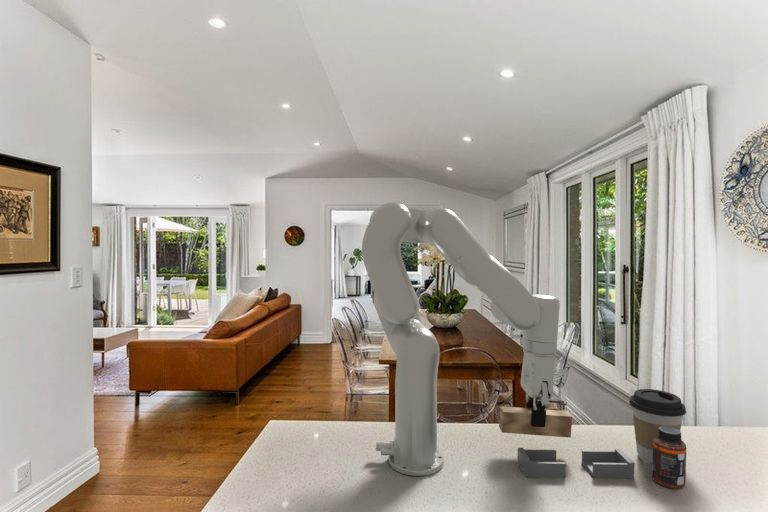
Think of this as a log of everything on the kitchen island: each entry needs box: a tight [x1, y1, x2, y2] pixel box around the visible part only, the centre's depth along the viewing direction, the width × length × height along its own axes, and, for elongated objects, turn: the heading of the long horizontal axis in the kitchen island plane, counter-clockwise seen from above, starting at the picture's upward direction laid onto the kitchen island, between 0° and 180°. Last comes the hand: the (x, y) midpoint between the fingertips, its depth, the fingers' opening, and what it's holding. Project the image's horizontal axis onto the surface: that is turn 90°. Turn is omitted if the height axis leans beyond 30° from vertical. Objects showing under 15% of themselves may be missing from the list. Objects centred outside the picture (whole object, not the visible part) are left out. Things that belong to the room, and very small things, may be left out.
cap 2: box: [581, 448, 636, 479], centre depth 98 cm, size 9×6×3 cm
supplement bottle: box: [651, 426, 687, 490], centre depth 93 cm, size 6×6×11 cm
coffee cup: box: [628, 388, 687, 465], centre depth 103 cm, size 11×11×15 cm
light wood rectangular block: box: [498, 406, 573, 438], centre depth 106 cm, size 16×4×5 cm, turn 87°
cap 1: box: [517, 447, 567, 478], centre depth 99 cm, size 9×6×3 cm
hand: (535, 421), depth 106 cm, fingers closed on light wood rectangular block, 3 cm apart
